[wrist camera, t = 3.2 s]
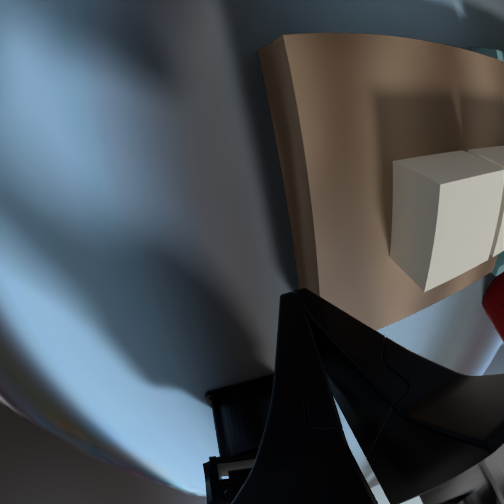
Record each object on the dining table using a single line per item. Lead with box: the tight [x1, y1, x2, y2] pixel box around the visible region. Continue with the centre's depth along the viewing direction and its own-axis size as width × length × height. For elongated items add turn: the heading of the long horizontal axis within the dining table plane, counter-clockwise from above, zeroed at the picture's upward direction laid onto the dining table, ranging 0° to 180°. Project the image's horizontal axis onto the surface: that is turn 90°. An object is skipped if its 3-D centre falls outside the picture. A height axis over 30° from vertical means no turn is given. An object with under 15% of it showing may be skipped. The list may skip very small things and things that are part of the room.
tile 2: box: [390, 150, 504, 292], centre depth 11 cm, size 5×5×3 cm
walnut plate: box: [258, 33, 504, 331], centre depth 14 cm, size 16×16×4 cm
